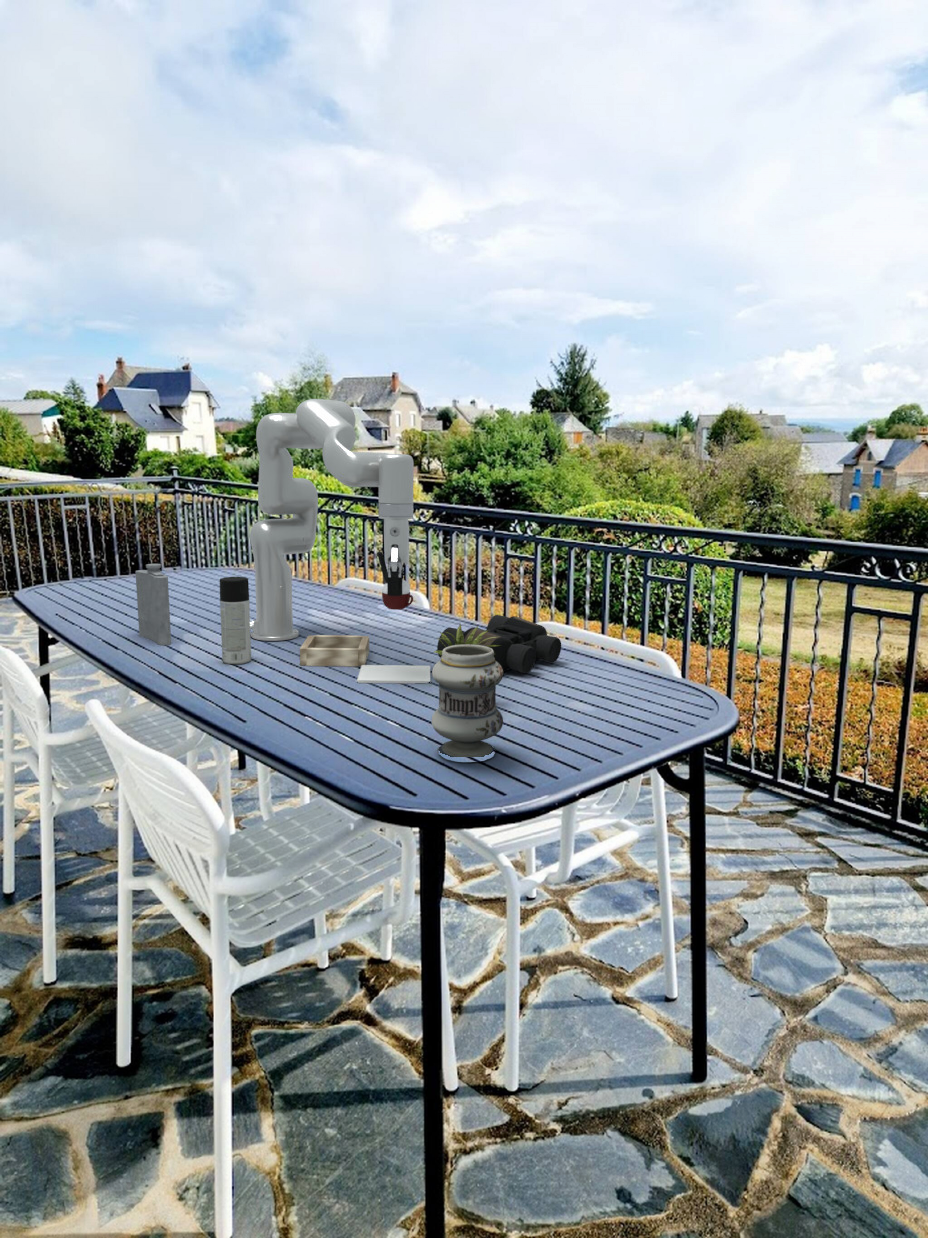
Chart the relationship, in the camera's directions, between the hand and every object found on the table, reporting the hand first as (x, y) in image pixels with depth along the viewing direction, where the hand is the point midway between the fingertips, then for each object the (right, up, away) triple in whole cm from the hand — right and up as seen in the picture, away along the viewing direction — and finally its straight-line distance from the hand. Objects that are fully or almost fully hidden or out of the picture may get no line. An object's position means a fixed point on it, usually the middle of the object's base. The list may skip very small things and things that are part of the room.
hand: (395, 591), depth 177 cm
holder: (-16, -16, +18) cm, 29 cm away
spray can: (-39, -16, +13) cm, 44 cm away
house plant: (+14, -23, -16) cm, 32 cm away
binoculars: (+25, -17, +17) cm, 35 cm away
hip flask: (-66, -12, +33) cm, 75 cm away
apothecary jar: (+16, -29, -42) cm, 54 cm away
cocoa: (0, -4, +1) cm, 4 cm away
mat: (0, -19, +4) cm, 19 cm away
